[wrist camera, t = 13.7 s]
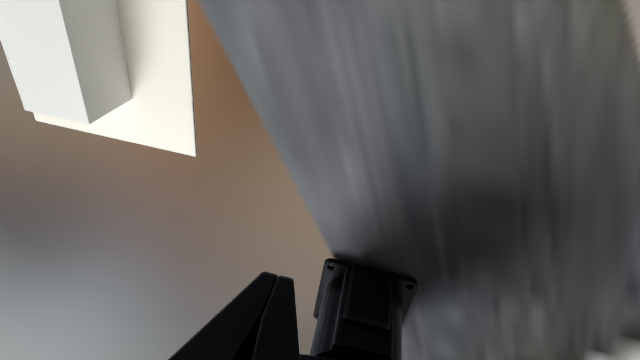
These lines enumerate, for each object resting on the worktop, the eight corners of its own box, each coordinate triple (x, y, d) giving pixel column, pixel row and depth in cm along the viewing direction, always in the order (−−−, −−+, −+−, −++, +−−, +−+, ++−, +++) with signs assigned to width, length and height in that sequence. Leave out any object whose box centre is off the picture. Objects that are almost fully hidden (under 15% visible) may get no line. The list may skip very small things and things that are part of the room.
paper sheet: (197, 155, 23) (195, 156, 23) (38, 119, 24) (35, 120, 24) (175, -199, 14) (172, -201, 14) (-79, -236, 15) (-84, -238, 15)
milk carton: (132, 98, 22) (89, 124, 19) (75, 86, 22) (24, 110, 19) (96, -118, 16) (26, -130, 13) (21, -130, 16) (-64, -145, 13)
